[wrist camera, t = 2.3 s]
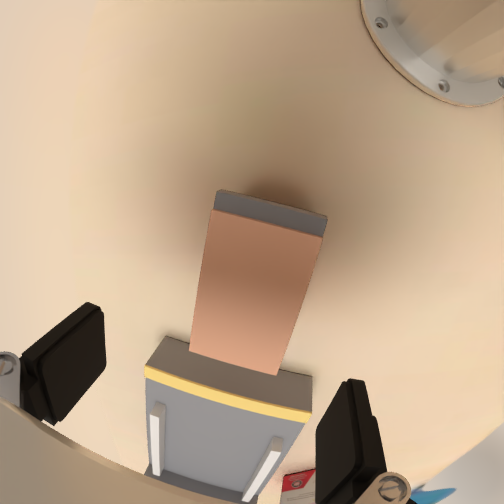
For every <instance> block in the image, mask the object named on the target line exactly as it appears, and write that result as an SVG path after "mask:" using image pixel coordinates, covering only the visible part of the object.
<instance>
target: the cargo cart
mask: <svg viewBox="0 0 504 504" xmlns="http://www.w3.org/2000/svg"><path fill="white" fill-rule="evenodd" d="M326 224H327V217H326V216H324V215H321V214H317V213H313V212H310V211H306V210H302V209H299V208H295V207H291V206H287V205H283V204H279V203H276V202H272V201H268V200H264V199H260V198H256V197H252V196H247V195H243V194H239V193H235V192H231V191H226V190H222V189H221V190H219V191H217V193H216V198H215V203H214V208H213V209H212V210H211V215H210V221H209V226H208V232H207V237H206V243H205V248H204V254H203V260H202V266H201V272H200V278H199V284H198V291H197V297H196V304H195V310H194V317H193V324H192V331H191V338H190V346H189V351H191V352H194V353H197V354H200V355H203V356H207V357H210V358H213V359H216V360H220V361H223V362H226V363H230V364H233V365H237V366H241V367H244V368H248V369H252V370H255V371H259V372H263V373H267V374H271V375H275V376H276V375H277V373H278V370H279V367H280V365H281V362H282V359H283V357H284V354H285V351H286V348H287V346H288V343H289V340H290V337H291V335H292V332H293V329H294V326H295V323H296V320H297V318H298V315H299V312H300V309H301V306H302V303H303V300H304V297H305V294H306V291H307V288H308V285H309V282H310V279H311V276H312V273H313V269H314V266H315V263H316V260H317V257H318V254H319V250H320V247H321V244H322V240H323V234H324V230H325V227H326Z"/></svg>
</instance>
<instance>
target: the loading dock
mask: <svg viewBox="0 0 504 504" xmlns="http://www.w3.org/2000/svg"><path fill="white" fill-rule="evenodd" d="M189 346H190V344H188V343H185V342H182V341H179V340H176V339H173V338H170V337H168V336H165V338H164V339H163V340H162V342H161V343H160V345H159V346H158V347H157V349H156V350H155V352H154V353H153V354H152V356H151V357H150V359H149V360H148V362H147V363H146V364H145V366H144V377H146V419H147V439H148V453H149V465H148V467H147V470H146V472H145V474H144V475H145V476H148V477H151V478H153V479H156V480H159V481H161V482H164V483H167V484H170V485H173V486H176V487H179V488H182V489H185V490H188V491H191V492H195V493H198V494H202V495H205V496H209V497H213V498H217V499H220V500H225V501H229V502H233V503H238V504H257V500H258V495H259V494H260V493H261V491H262V490H263V488H264V487H265V486H266V484H267V483H268V481H269V480H270V478H271V477H272V476H273V474H274V473H275V471H276V470H277V468H278V467H279V465H280V464H281V462H282V460H283V459H284V457H285V456H286V454H287V453H288V451H289V450H290V448H291V446H292V445H293V443H294V441H295V440H296V438H297V437H298V435H299V433H300V432H301V430H302V428H303V426H304V425H305V423H307V421H308V420H309V418H310V416H311V414H312V377H310V376H306V375H301V374H297V373H292V372H288V371H284V370H280V369H279V370H278V373H277V375H276V376H275V375H271V374H267V373H263V372H259V371H255V370H252V369H248V368H244V367H241V366H237V365H233V364H230V363H226V362H223V361H220V360H216V359H213V358H210V357H207V356H203V355H200V354H197V353H194V352H191V351H189Z"/></svg>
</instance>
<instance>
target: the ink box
mask: <svg viewBox="0 0 504 504" xmlns="http://www.w3.org/2000/svg"><path fill="white" fill-rule="evenodd" d="M315 473H316V469H314V470H310V471H306V472H301V473H297V474H292V475H288V476H284V477H283V484H282V492H281V498H280V504H315Z"/></svg>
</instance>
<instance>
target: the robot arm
mask: <svg viewBox="0 0 504 504" xmlns="http://www.w3.org/2000/svg"><path fill="white" fill-rule="evenodd" d="M360 1H361V11H362V14H363V18H364V21H365V24H366V27H367V29H368V31H369V33H370V35H371V37H372V39H373V41H374V42H375V43H376V45H377V46H378V48H379V49H380V51H381V52H382V54H383V55H384V56H385V57H386V58H387V60H388V61H389V62H390V63H391V64H392V65H393V66H394V67H395V69H396V70H397V71H399V72H400V73H401V74H402V75H403V76H404V77H405V78H407V79H408V80H409V81H410V82H411V83H413V84H414V85H416V86H417V87H418V88H420V89H421V90H423V91H424V92H426V93H428V94H430V95H432V96H434V97H435V98H437V99H439V100H441V101H445V102H448V103H451V104H454V105H458V106H466V107H473V106H482V105H486V104H490V103H494V102H495V101H497V100H499V99H501V98H502V97H503V96H504V0H360ZM377 25H379V26H381V28H379V27H378V26H377ZM439 86H441V89H442V90H440V88H439ZM105 367H106V349H105V330H104V313H103V312H102V311H101V308H100V307H99V306H97V305H94V304H92V303H89V302H86V303H85V304H83V305H82V306H81V307H79V308H78V309H77V310H76V311H74V312H73V313H72V314H70V315H69V316H68V317H67V318H65V319H64V320H63V321H62V322H60V323H59V324H58V325H56V326H55V327H54V328H53V329H51V330H50V331H49V332H48V333H47V334H45V335H44V336H43V337H42V338H40V339H39V340H38V341H37V342H35V343H34V344H33V345H32V346H30V347H29V348H28V349H27V350H26V351H24V352H23V353H22V356H21V357H20V358H18V357H17V356H16V355H15V354H13V353H11V352H5V351H4V352H0V504H238V503H233V502H229V501H225V500H220V499H217V498H213V497H209V496H205V495H202V494H198V493H195V492H191V491H188V490H185V489H182V488H179V487H176V486H173V485H170V484H167V483H164V482H161V481H159V480H156V479H153V478H151V477H148V476H145V475H143V474H141V473H138V472H136V471H133V470H131V469H129V468H126V467H124V466H122V465H120V464H117V463H115V462H113V461H111V460H109V459H107V458H104V457H103V456H101V455H99V454H97V453H95V452H93V451H91V450H89V449H87V448H85V447H83V446H81V445H79V444H78V443H76V442H74V441H72V440H71V439H69V438H67V437H65V436H64V435H62V434H60V433H59V432H57V431H55V430H54V429H52V428H50V427H49V426H47V425H46V424H44V423H42V422H41V421H42V420H43V419H44V420H45V421H47V422H48V423H50V424H52V425H53V426H54V425H55V424H56V423H57V422H58V421H59V422H61V421H62V420H63V419H64V418H65V417H66V416H67V414H68V413H69V412H70V411H71V409H72V408H73V407H74V406H75V405H76V403H77V402H78V401H79V400H80V398H81V397H82V396H83V395H84V393H85V392H86V391H87V390H88V389H89V388H90V386H91V385H92V384H93V383H94V382H95V380H96V379H97V378H98V377H99V376H100V374H101V373H102V372H103V371H104V369H105ZM410 495H411V487H410V484H409V482H408V481H407V479H406V478H404V477H403V476H402V475H400V474H398V473H394V472H387V468H386V463H385V457H384V452H383V447H382V442H381V437H380V432H379V427H378V423H377V419H376V417H375V416H372V412H371V408H370V403H369V399H368V394H367V390H366V385H365V382H364V381H362V380H356V379H348V380H347V382H345V381H343V382H342V384H341V385H340V387H339V389H338V391H337V393H336V395H335V396H334V398H333V400H332V402H331V404H330V405H329V407H328V409H327V411H326V412H325V414H324V416H323V417H322V419H321V421H320V422H319V424H318V426H317V429H316V473H315V504H417V503H416V502H414V501H413V500H411V499H410V498H409V497H410Z"/></svg>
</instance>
